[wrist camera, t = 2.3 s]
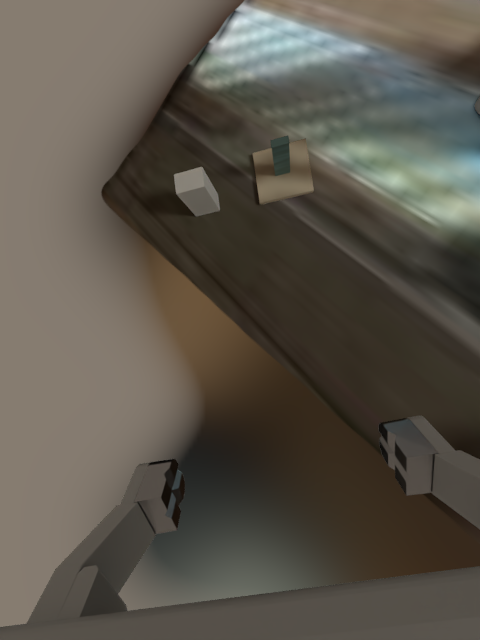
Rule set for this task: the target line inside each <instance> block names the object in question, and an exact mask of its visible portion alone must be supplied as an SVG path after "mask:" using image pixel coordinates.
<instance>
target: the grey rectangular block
mask: <svg viewBox="0 0 480 640" xmlns="http://www.w3.org/2000/svg"><path fill="white" fill-rule="evenodd" d="M174 180H175V188H176V194H177V195H178V197H179V198H180V199H181V200H182V201H183V202H184V203H185V205H186V206H187V207H188V208H189V209H190V210H191V211H192V212H193V214H194V215H195V216H200V215H204V214H208V213H213V212H217V211H220V207H219V199H218V194H217V192H216V190H215V188H214V187H213V185H212V183H211V181H210V180H209V178H208V176H207V175H206V173H205V171H204V169H203V168H202V167H199V168H196V169H192V170H189V171H185V172H182V173H178V174H174Z"/></svg>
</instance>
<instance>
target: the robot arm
mask: <svg viewBox="0 0 480 640" xmlns="http://www.w3.org/2000/svg"><path fill="white" fill-rule="evenodd" d="M475 109H476V111H477V113H478V114H479V115H480V96H479V98H478V99H477V101H476V103H475ZM379 432H380V433H381V435H382V436H381V438H380V439H379V445H380V449H381V453H382V455H383V457H384V459H385V461H386V463H387V465H388V466H389V467H390V468H392V469H394V470H395V478H396V479H397V481H398V483H399V484H400V486H401V488H402V489H403V491H404V493H405V494H406V495H416V494H424V493H432V494H433V495H434V496H436V497H437V498H438V499H440V500H441V501H442V502H444V503H445V504H446V505H448V506H449V507H451V508H452V509H453V510H455V511H456V512H457V513H459V514H460V515H461V516H463V517H464V518H465V519H467V520H468V521H469V522H471V523H472V524H473V525H475V526H476V527H477V528H479V529H480V459H478V458H476V457H473V456H471V455H469V454H467V453H465V452H463V451H461V450H458V451H456V450H455V449H454V448H453V447H452V446H451V445H450V444H449V443H448V442H447V441H446V440H445V439H444V438H443V437H442V436H441V435H440V434H439V433H438V432H437V431H436V429H435V428H434V427H433V426H432V425H431V424H430V423H429V422H428V421H427V420H426V419H425V418H424V417H422V416H421V415H420V416H415V417H409V418H403V419H398V420H392V421H387V422H382V423H379ZM177 469H178V463H177V461H176V459H170V460H163V461H156V462H151V463H144V464H139V465H138V466H137V467H136V469H135V471H134V474H133V476H132V478H131V481H130V483H129V485H128V488H127V490H126V493H125V495H124V497H123V500H122V502H121V504H120V505H118V506H116V507H115V508H114V509H113V510H112V511H111V512H110V513H109V514H108V515H107V516H106V517H105V518H104V519H103V520H102V521H101V522H100V524H99V525H98V526H97V527H96V528H95V529H94V530H93V531H92V532H91V533H90V534H89V535H88V536H87V537H86V538H85V539H84V540H83V541H82V542H81V543H80V544H79V546H78V547H77V548H76V549H75V550H74V551H73V552H72V553H71V554H70V555H69V556H68V557H67V558H66V559H65V560H64V561H63V562H62V563H61V564H60V565H59V566H58V568H56V569H55V571H54V573H53V575H52V577H51V579H50V580H49V582H48V584H47V586H46V588H45V590H44V592H43V594H42V595H41V598H40V599H39V601H38V603H37V605H36V607H35V609H34V611H33V612H32V614H31V616H30V618H29V620H28V622H27V624H21V625H14V626H5V627H0V640H480V567H472V568H463V569H455V570H447V571H439V572H432V573H424V574H416V575H408V576H400V577H392V578H384V579H376V580H368V581H360V582H352V583H344V584H336V585H329V586H320V587H312V588H304V589H298V590H289V591H282V592H273V593H265V594H257V595H249V596H241V597H234V598H226V599H218V600H210V601H202V602H194V603H187V604H179V605H171V606H163V607H155V608H148V609H139V610H131V611H127V607H126V604H125V603H124V602H123V601H122V599H121V598H120V597H119V595H118V593H119V592H120V590H121V588H122V587H123V585H124V584H125V582H126V581H127V579H128V578H129V576H130V575H131V573H132V571H133V570H134V568H135V567H136V565H137V564H138V562H139V561H140V559H141V557H142V556H143V554H144V553H145V551H146V550H147V548H148V547H149V545H150V544H151V542H152V541H153V539H154V537H155V536H156V535H155V534H159V533H164V532H170V531H175V530H177V528H178V523H179V519H180V514H181V510H180V508H179V504H180V503H181V502H182V500H183V499H184V493H185V481H184V477H183V474H182V472H180V471H178V470H177Z"/></svg>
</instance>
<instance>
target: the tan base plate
mask: <svg viewBox="0 0 480 640" xmlns="http://www.w3.org/2000/svg"><path fill="white" fill-rule="evenodd" d="M253 159H254V167H255V174H256V181H257V188H258V195H259V202H260V205H261V204H266V203H270V202H274V201H278V200H283V199H287V198H291V197H295V196H299V195H304V194H308V193H312V192H314V189H313V182H312V176H311V170H310V163H309V157H308V151H307V144H306V138H305V139H302V140H298V141H295V142H291V143H289V138H288V136H285V137H281V138H278V139H274V140H271V148H270V149H266V150H263V151H259V152H255V153H253Z"/></svg>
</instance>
